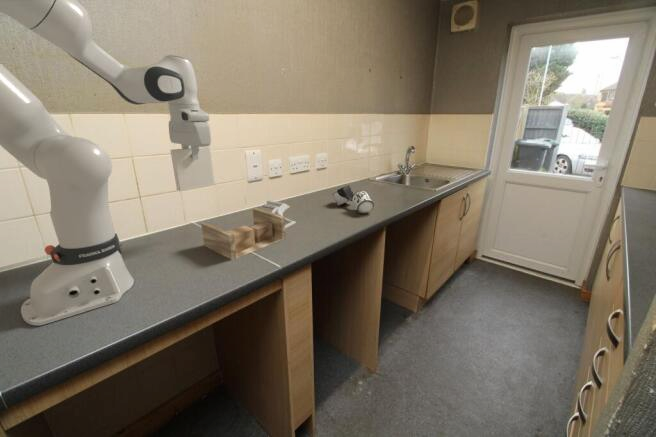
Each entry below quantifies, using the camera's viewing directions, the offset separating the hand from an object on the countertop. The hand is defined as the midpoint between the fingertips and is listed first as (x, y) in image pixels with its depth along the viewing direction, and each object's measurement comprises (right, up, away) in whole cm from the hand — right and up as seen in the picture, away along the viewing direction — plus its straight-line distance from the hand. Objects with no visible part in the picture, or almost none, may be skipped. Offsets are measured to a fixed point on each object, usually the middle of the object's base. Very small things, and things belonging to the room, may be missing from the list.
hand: (191, 158), depth 102 cm
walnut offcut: (+22, -27, +7) cm, 35 cm away
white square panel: (0, -9, +3) cm, 10 cm away
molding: (+22, -20, +33) cm, 45 cm away
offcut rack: (+17, -29, +5) cm, 34 cm away
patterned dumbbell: (+57, -15, +45) cm, 74 cm away
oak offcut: (+16, -29, 0) cm, 33 cm away
